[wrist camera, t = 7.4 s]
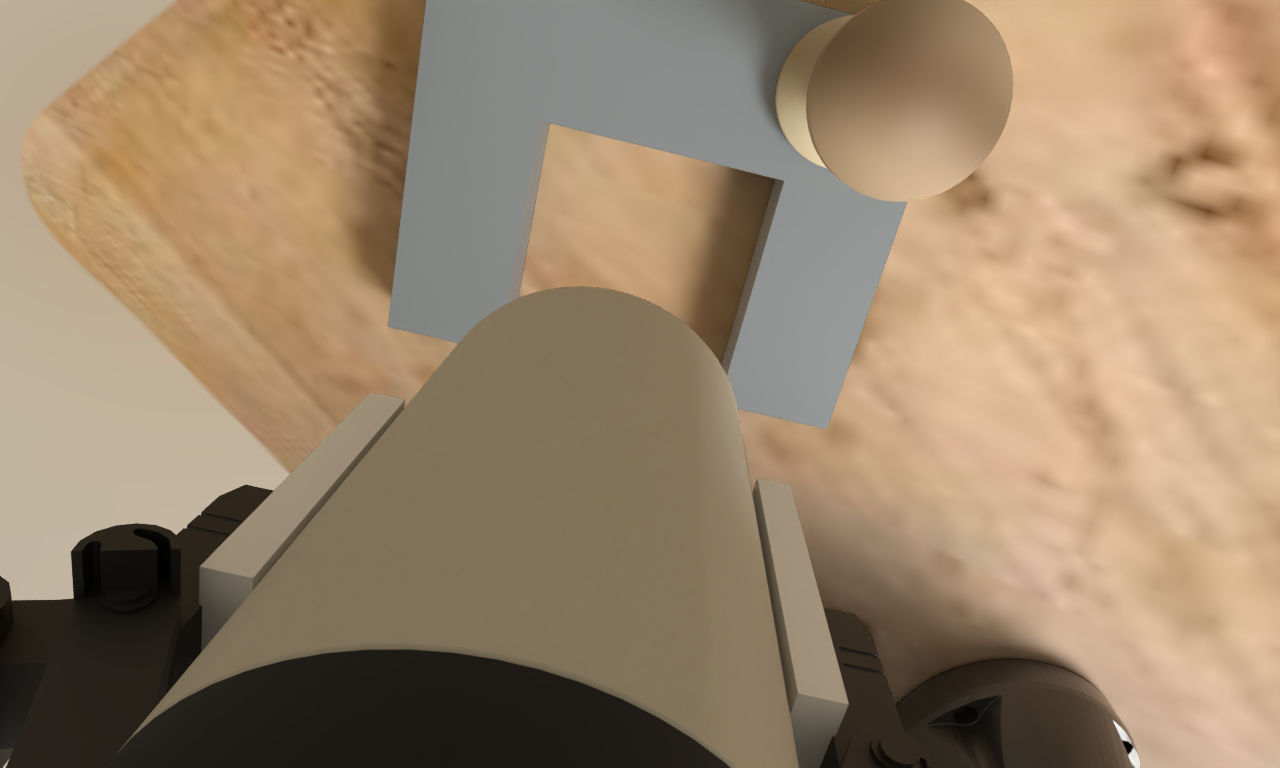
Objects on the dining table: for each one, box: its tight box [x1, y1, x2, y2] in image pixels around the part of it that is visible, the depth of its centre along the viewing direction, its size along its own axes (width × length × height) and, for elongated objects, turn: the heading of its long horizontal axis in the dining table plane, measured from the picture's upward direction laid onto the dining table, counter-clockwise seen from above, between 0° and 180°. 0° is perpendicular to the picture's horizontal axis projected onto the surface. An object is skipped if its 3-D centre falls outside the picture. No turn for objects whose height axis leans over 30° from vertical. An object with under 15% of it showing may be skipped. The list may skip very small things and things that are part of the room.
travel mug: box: [105, 287, 799, 768], centre depth 12 cm, size 8×8×18 cm
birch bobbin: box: [775, 0, 1013, 202], centre depth 28 cm, size 6×6×10 cm
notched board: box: [388, 0, 907, 429], centre depth 36 cm, size 18×22×3 cm
